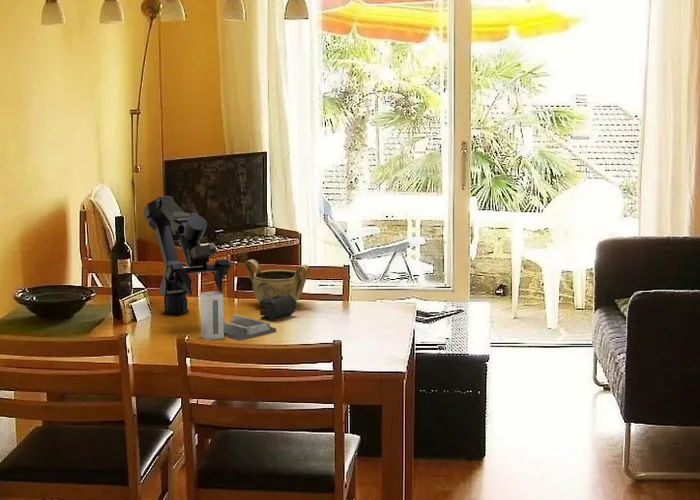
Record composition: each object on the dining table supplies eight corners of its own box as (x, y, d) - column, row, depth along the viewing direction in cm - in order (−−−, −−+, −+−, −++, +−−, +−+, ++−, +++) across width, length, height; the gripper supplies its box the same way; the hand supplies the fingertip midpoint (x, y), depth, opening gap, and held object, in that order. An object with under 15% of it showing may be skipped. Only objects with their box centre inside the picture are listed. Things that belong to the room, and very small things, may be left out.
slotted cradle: (205, 330, 304) (205, 320, 304) (241, 322, 314) (241, 312, 314) (239, 340, 293) (239, 330, 293) (276, 331, 303) (276, 321, 303)
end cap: (276, 323, 314) (275, 301, 313) (258, 319, 318) (258, 298, 317) (296, 317, 322) (296, 296, 321) (279, 313, 326) (279, 293, 325)
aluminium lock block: (200, 336, 297) (200, 292, 295) (216, 334, 300) (216, 290, 298) (207, 340, 293) (207, 296, 291) (223, 338, 296) (223, 294, 293)
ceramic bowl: (235, 309, 332) (234, 263, 329) (259, 298, 347) (258, 255, 345) (297, 315, 323) (297, 269, 321) (319, 304, 339) (319, 260, 336)
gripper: (168, 236, 297) (181, 280, 289) (228, 232, 306) (242, 274, 298) (160, 258, 305) (173, 302, 298) (218, 254, 314) (233, 295, 306)
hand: (206, 293), depth 300 cm, fingers open, 9 cm apart
